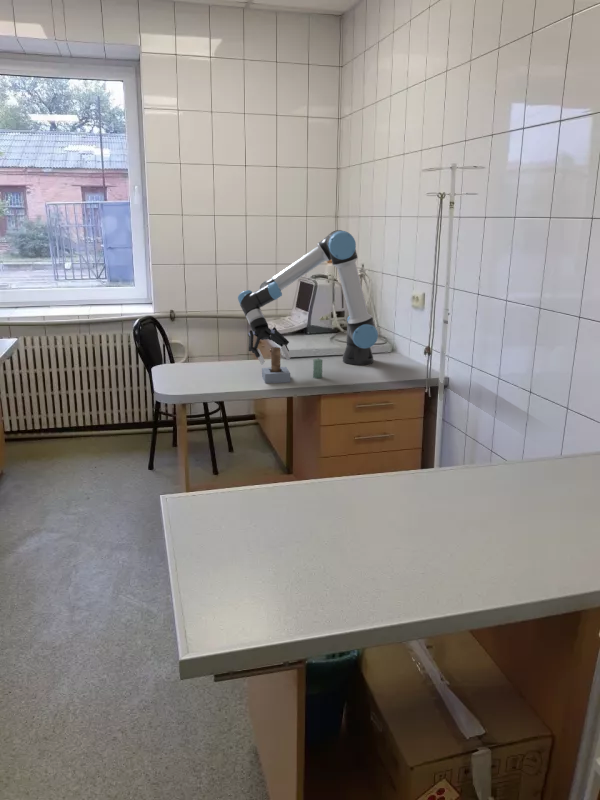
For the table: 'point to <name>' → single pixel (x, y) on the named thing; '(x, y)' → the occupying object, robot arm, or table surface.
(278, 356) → the walnut pin long
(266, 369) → the socket block
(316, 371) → the green pin short
